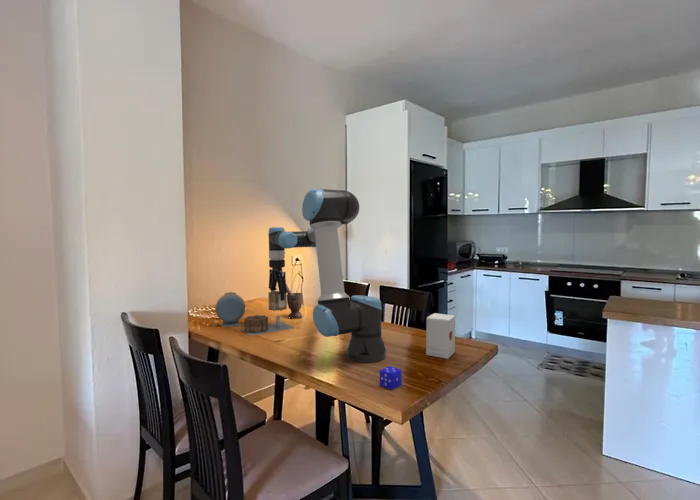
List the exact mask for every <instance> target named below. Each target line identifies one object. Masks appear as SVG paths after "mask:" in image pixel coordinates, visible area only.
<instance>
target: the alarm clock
mask: <svg viewBox="0 0 700 500" xmlns="http://www.w3.org/2000/svg"><path fill="white" fill-rule="evenodd" d="M245 313H246V303H245V300H244V298H242V297H241V296H240V295H239V294H237V293H236V292H232V291H230V292H225V293H224V295H222V296H220V297H219V299H218V300H217V301H216V304H215V315H216V316H217V318H218V319H219V320H221V321H222V322H223V323H220V324H219V326H221V327H222V328H227V327H228V328H229V327H238V326H242V323H241V321H240V322H239V320H240V319H242V318H243V316H244V314H245Z"/></svg>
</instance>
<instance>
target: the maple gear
mask: <svg viewBox="0 0 700 500" xmlns="http://www.w3.org/2000/svg"><path fill="white" fill-rule="evenodd" d="M267 293H268V295H267V296H268V311H273V312H276V311H283V310H288V309H287V308H288V304H287V294H288V293H285V294H284V297H285V307H280V308H279V294H278V293H279V290H276V291H273V292H271V291H269V292H267Z"/></svg>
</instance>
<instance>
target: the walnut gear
mask: <svg viewBox="0 0 700 500" xmlns="http://www.w3.org/2000/svg"><path fill="white" fill-rule="evenodd" d="M243 323H244V328H245V331H247V333H254V334H255V333H261V332H266V330H268V324H269V316H266V315H265V314H264V315H259V314H255V315H249V316H246V317H244V322H243ZM247 333H246V334H247Z"/></svg>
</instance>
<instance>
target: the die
mask: <svg viewBox="0 0 700 500" xmlns="http://www.w3.org/2000/svg"><path fill="white" fill-rule="evenodd" d="M402 372H403V371H402V369H401V368H397V367H393V366H391V365H389V366H386V367H384V368H382V369H380V370H379V386H380V387H383V388H386V389H388V390H391V391H392V390H395V389H397V388H398V387H400V386H402V384H403V383H402V377H403V376H402Z"/></svg>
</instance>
